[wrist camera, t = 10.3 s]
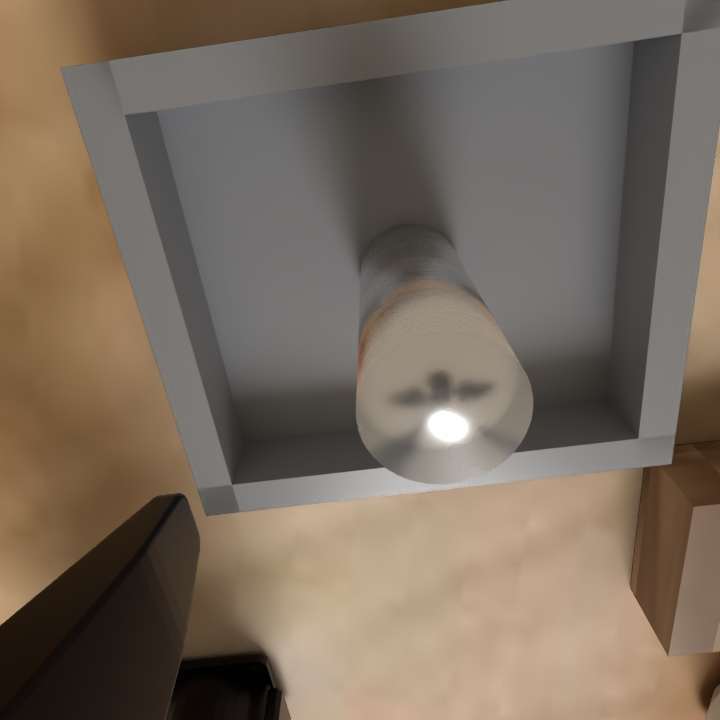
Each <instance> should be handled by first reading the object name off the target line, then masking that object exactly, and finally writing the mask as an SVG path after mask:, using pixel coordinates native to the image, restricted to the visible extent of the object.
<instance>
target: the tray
mask: <svg viewBox="0 0 720 720" xmlns="http://www.w3.org/2000/svg"><path fill="white" fill-rule="evenodd" d="M60 69H61V72H62V75H63V78H64V81H65V84H66V88H67V91H68V94H69V97H70V100H71V103H72V106H73V109H74V112H75V115H76V118H77V121H78V124H79V127H80V130H81V134H82V137H83V140H84V143H85V146H86V149H87V152H88V155H89V158H90V161H91V164H92V167H93V170H94V173H95V176H96V179H97V183H98V186H99V189H100V192H101V195H102V198H103V201H104V204H105V207H106V210H107V213H108V216H109V219H110V222H111V225H112V229H113V232H114V235H115V238H116V241H117V244H118V247H119V250H120V253H121V256H122V259H123V262H124V265H125V268H126V271H127V275H128V278H129V281H130V284H131V287H132V290H133V293H134V296H135V299H136V302H137V305H138V308H139V311H140V314H141V317H142V321H143V324H144V327H145V330H146V333H147V336H148V339H149V342H150V345H151V348H152V351H153V354H154V357H155V360H156V363H157V367H158V370H159V373H160V376H161V379H162V382H163V385H164V388H165V391H166V394H167V397H168V400H169V403H170V406H171V409H172V413H173V416H174V419H175V422H176V425H177V428H178V431H179V434H180V437H181V440H182V443H183V446H184V449H185V452H186V455H187V459H188V462H189V465H190V468H191V471H192V474H193V477H194V480H195V483H196V486H197V489H198V492H199V495H200V498H201V501H202V505H203V508H204V511H205V514H206V516H210V515H219V514H228V513H237V512H246V511H255V510H264V509H273V508H282V507H290V506H299V505H308V504H317V503H326V502H335V501H344V500H353V499H362V498H371V497H380V496H389V495H398V494H407V493H416V492H425V491H434V490H443V489H452V488H461V487H470V486H479V485H488V484H497V483H506V482H515V481H524V480H533V479H542V478H551V477H560V476H569V475H578V474H587V473H596V472H605V471H614V470H623V469H632V468H641V467H650V466H659V465H668V464H671V463H672V456H673V449H674V442H675V435H676V428H677V421H678V414H679V407H680V400H681V393H682V386H683V379H684V372H685V365H686V358H687V351H688V344H689V337H690V330H691V322H692V315H693V308H694V301H695V294H696V287H697V280H698V273H699V266H700V259H701V252H702V245H703V238H704V231H705V224H706V217H707V210H708V203H709V196H710V189H711V182H712V175H713V168H714V161H715V154H716V146H717V139H718V132H719V125H720V0H506V1H500V2H493V3H486V4H480V5H473V6H467V7H460V8H453V9H447V10H440V11H434V12H427V13H420V14H414V15H407V16H400V17H394V18H387V19H381V20H374V21H367V22H361V23H354V24H347V25H341V26H334V27H328V28H321V29H314V30H308V31H301V32H294V33H288V34H281V35H275V36H268V37H261V38H255V39H248V40H242V41H235V42H228V43H222V44H215V45H208V46H202V47H195V48H189V49H182V50H175V51H169V52H162V53H155V54H149V55H142V56H136V57H129V58H122V59H116V60H109V61H102V62H96V63H89V64H83V65H76V66H69V67H63V68H60ZM410 223H412V224H421V225H425V226H428V227H431V228H433V229H435V230H437V231H438V232H439V233H441V234H442V235H443V236H444V237H445V238H446V239H447V240H448V241H449V242H450V244H451V245H452V247H453V249H454V250H455V252H456V254H457V256H458V257H459V259H460V261H461V263H462V264H463V266H464V268H465V269H466V271H467V273H468V275H469V276H470V278H471V280H472V281H473V283H474V285H475V287H476V288H477V290H478V292H479V293H480V295H481V297H482V299H483V300H484V302H485V304H486V305H487V307H488V309H489V311H490V312H491V314H492V316H493V317H494V319H495V321H496V323H497V324H498V326H499V328H500V330H501V331H502V333H503V335H504V336H505V338H506V340H507V342H508V343H509V345H510V347H511V348H512V350H513V352H514V354H515V355H516V357H517V359H518V360H519V362H520V364H521V366H522V367H523V369H524V371H525V372H526V374H527V377H528V379H529V382H530V384H531V389H532V393H533V414H532V418H531V423H530V426H529V428H528V431H527V433H526V435H525V437H524V439H523V440H522V442H521V444H520V445H519V446H518V448H517V449H516V450H515V451H514V452H513V454H512V455H511V456H510V457H509V458H508V459H506V460H505V461H504V462H503V463H502V464H500V465H499V466H498V467H496V468H494V469H493V470H491V471H490V472H488V473H486V474H484V475H482V476H479V477H477V478H474V479H471V480H468V481H464V482H460V483H453V484H439V485H438V484H426V483H420V482H415V481H412V480H408V479H406V478H403V477H401V476H398V475H396V474H395V473H393V472H391V471H389V470H388V469H386V468H385V467H384V466H382V465H381V464H380V463H379V462H378V461H377V460H376V459H375V458H374V457H373V456H372V455H371V454H370V452H369V451H368V450H367V448H366V446H365V445H364V443H363V441H362V439H361V436H360V434H359V431H358V426H357V422H356V391H357V361H358V332H359V303H360V274H361V264H362V259H363V257H364V254H365V252H366V250H367V248H368V247H369V245H370V244H371V242H372V241H373V240H374V239H375V238H376V237H377V236H378V235H379V234H381V233H382V232H384V231H385V230H387V229H389V228H391V227H394V226H397V225H401V224H410Z"/></svg>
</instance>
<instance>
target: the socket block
mask: <svg viewBox="0 0 720 720" xmlns="http://www.w3.org/2000/svg"><path fill="white" fill-rule="evenodd" d="M630 589H631V590H632V592H633V594H634V596H635V598H636V599H637V601H638V603H639V605H640V607H641V608H642V610H643V612H644V614H645V616H646V617H647V619H648V621H649V623H650V625H651V626H652V628H653V630H654V632H655V634H656V635H657V637H658V639H659V641H660V643H661V644H662V646H663V648H664V650H665V652H666V653H667V655H668V656H678V655H689V654H699V653H710V652H720V441H712V442H703V443H694V444H685V445H676V446H674V449H673V456H672V463H671V464H668V465H659V466H650V467H644V475H643V483H642V492H641V500H640V509H639V518H638V526H637V535H636V543H635V552H634V561H633V569H632V578H631V586H630Z"/></svg>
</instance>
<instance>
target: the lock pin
mask: <svg viewBox="0 0 720 720" xmlns="http://www.w3.org/2000/svg"><path fill="white" fill-rule="evenodd" d="M532 414H533V393H532V389H531V384H530V382H529V379H528V377H527V374H526V372H525V371H524V369H523V367H522V366H521V364H520V362H519V360H518V359H517V357H516V355H515V354H514V352H513V350H512V348H511V347H510V345H509V343H508V342H507V340H506V338H505V336H504V335H503V333H502V331H501V330H500V328H499V326H498V324H497V323H496V321H495V319H494V317H493V316H492V314H491V312H490V311H489V309H488V307H487V305H486V304H485V302H484V300H483V299H482V297H481V295H480V293H479V292H478V290H477V288H476V287H475V285H474V283H473V281H472V280H471V278H470V276H469V275H468V273H467V271H466V269H465V268H464V266H463V264H462V263H461V261H460V259H459V257H458V256H457V254H456V252H455V250H454V249H453V247H452V245H451V244H450V242H449V241H448V240H447V239H446V238H445V237H444V236H443V235H442V234H441V233H439V232H438V231H437V230H435V229H433V228H431V227H428V226H425V225H421V224H412V223H410V224H401V225H397V226H394V227H391V228H389V229H387V230H385V231H384V232H382V233H381V234H379V235H378V236H377V237H376V238H375V239H374V240H373V241H372V242H371V244H370V245H369V247H368V248H367V250H366V252H365V254H364V257H363V259H362V264H361V274H360V303H359V332H358V361H357V391H356V422H357V426H358V431H359V434H360V436H361V439H362V441H363V443H364V445H365V446H366V448H367V450H368V451H369V452H370V454H371V455H372V456H373V457H374V458H375V459H376V460H377V461H378V462H379V463H380V464H381V465H382V466H384V467H385V468H386V469H388V470H389V471H391V472H393V473H395V474H396V475H398V476H401V477H403V478H406V479H408V480H412V481H415V482H420V483H426V484H438V485H439V484H453V483H460V482H464V481H468V480H471V479H474V478H477V477H479V476H482V475H484V474H486V473H488V472H490V471H491V470H493V469H494V468H496V467H498V466H499V465H500V464H502V463H503V462H504V461H505V460H506V459H508V458H509V457H510V456H511V455H512V454H513V452H514V451H515V450H516V449H517V448H518V446H519V445H520V444H521V442H522V440H523V439H524V437H525V435H526V433H527V431H528V428H529V426H530V423H531V418H532Z"/></svg>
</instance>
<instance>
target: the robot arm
mask: <svg viewBox="0 0 720 720" xmlns="http://www.w3.org/2000/svg"><path fill="white" fill-rule="evenodd" d="M199 551H200V536H199V532H198V529H197V526H196V523H195V520H194V517H193V514H192V511H191V508H190V506H189V503H188V500H187V498H186V497H185V495H183V494H181V493H176V494H167V495H159V496H156V497H154V498H153V499H152V500H151V501H149V502H148V503H147V504H146V505H145V506H143V507H142V508H141V509H140V510H139V511H137V512H136V513H135V514H134V515H133V516H131V517H130V518H129V519H128V520H127V521H125V522H124V523H123V524H122V525H121V526H119V527H118V528H117V529H116V530H115V531H113V532H112V533H111V534H110V535H109V536H107V537H106V538H105V539H104V540H103V541H101V542H100V543H99V544H98V545H97V546H95V547H94V548H93V549H92V550H91V551H89V552H88V553H87V554H86V555H85V556H83V557H82V558H81V559H80V560H79V561H77V562H76V563H75V564H74V565H73V566H71V567H70V568H69V569H68V570H66V571H65V572H64V573H63V574H62V575H60V576H59V577H58V578H57V579H56V580H54V581H53V582H52V583H51V584H50V585H48V586H47V587H46V588H45V589H44V590H42V591H41V592H40V593H39V594H38V595H36V596H35V597H34V598H33V599H32V600H30V601H29V602H28V603H27V604H26V605H24V606H23V607H22V608H21V609H20V610H18V611H17V612H16V613H15V614H14V615H12V616H11V617H10V618H9V619H8V620H6V621H5V622H4V623H3V624H2V625H0V720H291V717H290V714H289V711H288V708H287V704H286V701H285V698H284V694H283V691H282V690H281V689H280V688H279V687H277V686H276V683H275V680H274V676H273V673H272V670H271V667H270V663H269V660H268V658H267V657H265V656H264V655H259V654H256V655H246V656H236V657H226V658H215V659H205V660H195V661H185V662H181V658H182V654H183V650H184V646H185V641H186V635H187V629H188V623H189V617H190V610H191V603H192V597H193V590H194V584H195V577H196V571H197V564H198V558H199Z"/></svg>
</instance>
